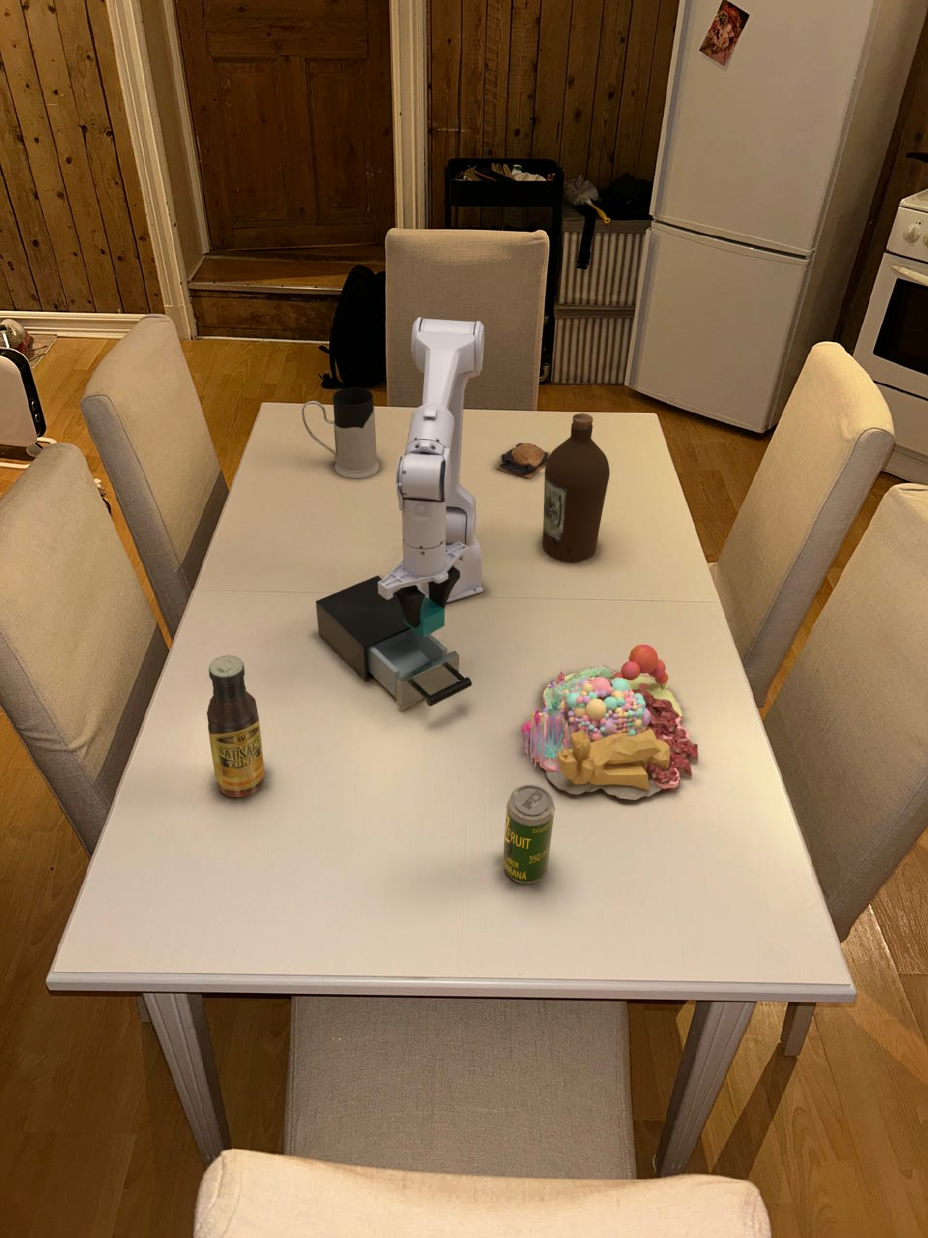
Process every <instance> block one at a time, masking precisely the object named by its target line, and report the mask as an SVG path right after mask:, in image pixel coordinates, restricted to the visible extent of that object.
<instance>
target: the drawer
mask: <svg viewBox="0 0 928 1238" xmlns="http://www.w3.org/2000/svg"><path fill="white" fill-rule="evenodd" d="M367 659H368V671H369V672H370V673H371V674H372V675H373V676H374V677H375V678H374V679H376V680H377V681H378V682H379V683H380V684H381V685H382V686H383V687H384V688H385V689H386V690H387V691H388V692H389V693H390V694H391V695H392V696H393V697H394V698H396V705H397V706H398V707H399V708H400V709H401V710H404V709H406V708H408V707H410V706H413V705H414V704H416V703H418V702H421V701H422V700H425V703H426V705H427V706H428V707H433V706H435V705H437V704H439V703H441V702H442V701H445V700H446V699H449V698H450V697H453V696H455V695H457V694H458V693H460V692H462V691H464V690H466V689H469V688H470V687H472V685H473V682H472V680H471V678H470V677H468V676H464V675H463V674H461V673H460V654H459V653H458V652H457V651H456V650H452V651H450V652H448V649H447V647H446V646H445V645H444V644H443V643H442V642H441V641H440V640H439V639H437V638H436V637H435V636H433V634H432V633H431V634H429V635H427V636H425V637H422V636H421V635H419V634H418V633H416V632H415V631H414V630H412V629H409V630H407V631H405V632H403V633H401V634H398V635H396V636H394V637H392V638H390V639H387V640H385V641H383V642H381V643H379V644H376V645H374V646H372V647H370V648H368V649H367Z"/></svg>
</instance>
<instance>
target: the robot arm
mask: <svg viewBox="0 0 928 1238" xmlns="http://www.w3.org/2000/svg"><path fill="white" fill-rule="evenodd" d="M411 329H412V330H411V338H410V339H411V343H410V347H411V350H410V351H411V352H410V353H411V358H412V360H413V362H414V363H415V366H416V368H417V369H418V371H419V373H423V374H424V375H423V387H422V389H423V390H422V402H421V403H422V404H421V405H420V406H418V407H417V408H415V409H414V410H413V411H412V414H411V416H410V422H409V429H408V434H407V440H406V446H405V450H404V456H402V455H399V458H398V460H397V464H396V471H395V487H396V495H397V499H398V509H399V511H401V529H402V530H401V533H402V560H401V561H400V562H399V563H398V564H397V565H396V566H395V567H394V568H393V569H392V570H391V571H390V572H389V573H388V575H386V576H385V577H383V578H382V580H381V581H379V582H378V593H379V594H380V595H381V596H382V597H384V598H385V599H387V600H388V599H390V598H392V597H393V593H394V594H395V596H396V597H397V599H398V601H399V603H400V605H401V607H402V610H403V613H404V616H405V619H406V622H407V623H408V624H410V625H411V626H412V627H414V628H417V627H419V624H420V612H421V606H422V602H423V599H424V597H428V598H429V599H430V600H432V601H433V602H435V603H436V604H438V605H439V606H441V607H442V608H443V609H445V610H446V606H447V603H450V602H454V601H457V600H460V599H465V598H467V597H470V596H473V595H477V594H481V593H483V592H484V588H483V587H482V575H483V573H482V572H483V554H482V549H481V545H480V543H479V541H478V539H477V538H476V529H477V500H476V497H475V496H474V495H473V494H472V493H471V492H470V491H469V490H467V488H465V487H464V486H463V485H462V484H461V483H460V480H461V460H462V442H463V423H464V405H465V390H466V386H467V384H468V382H469V380H470V379H473V378H476V377H479V376H480V375H481V372H482V370H483V361H484V351H485V350H484V349H485V325H484V324H483V323H482V321H480V320H476V321H466V320H465V321H464V320H448V319H435V318H434V319H433V318H424V317H421V316H419V317H417V318H416V320H414V322H413V324H412V328H411Z"/></svg>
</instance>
